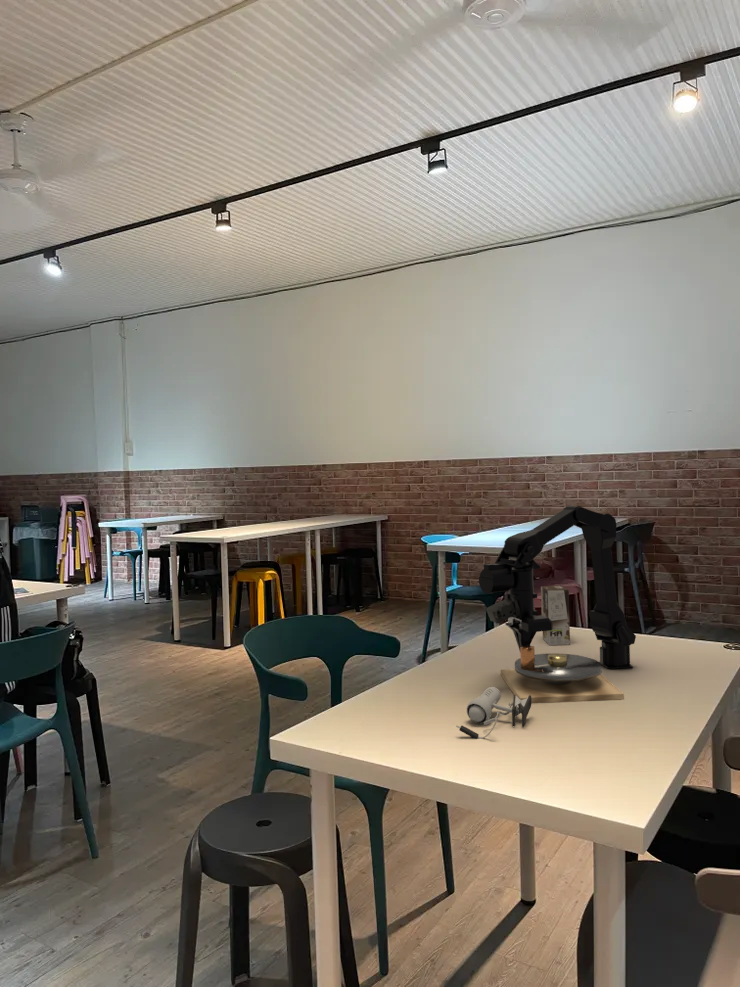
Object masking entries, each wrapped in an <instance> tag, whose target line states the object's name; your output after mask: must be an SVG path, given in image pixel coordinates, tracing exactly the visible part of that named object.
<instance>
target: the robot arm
mask: <svg viewBox="0 0 740 987" xmlns="http://www.w3.org/2000/svg"><path fill="white" fill-rule="evenodd" d="M574 526H575V527H576V528H578V529H579V528H580V529H581V532H582V536H583V539H584V540H585V542H586V544H587V546H589V548H590V554H591V562H592V563H591V564H592V572H593V582H594V592H595V599H596V602H595V603H596V604H595V606H594V608H593V610H589V612H588V615H589V627H591V629H592V632H594V635H595V638H596V640H597V641H600V642H601V646H600V647H599V662H600V663H601V665H602V667H604V668H606V669H607V670H614V669H617V670H618V669H633V667H634V666H633V665H632V664H631V649H630V648H631V647H630V646H631V645H635V642H636V638H637V635H636V634H635V633H634V632H633V631H632V630H631V628H630V627H629V626H628V625H627V621H626V617H625V613H624V611H623V610H622V608H621V607H620V605H619V603H618V601H617V599H618V598H617V593H616V592H617V591H616V582H615V581H616V580H615V572H614V571H615V570H614V562H613V561H614V560H613V554H612V553H613V552H612V546H613V544H614V542H615V540H616V538H617V520H616V518H615V517H614V516H613V515H612V514H609V513H601V512H597V511H594V510H589V509H587V508H585V507H583V506H581V505H568V506H566V507H563V509H562V510H560V511H559V512H557V513H555V514H554V515H553V516H551V517H549V518H548V519H546V520H545V521H543V522H541V523H540V524H539V525H537V526H536V527H534V528H532V529H529V530H526V531H523V532H519V533H516V534H514V535H511V536H508V537H507V538H506V539H505V540H504V545H503V547H502V549H501V551H500V553H499V555H498V557H497V558H496V560H495V561H494V563H484V564H483V569H482V570H481V571H480V573H479V577H478V583H479V584H478V585H479V587H480V589H481V591H482V592H483V593H485V594H486V595H487V594H494V593H501V592H505V595H504V600H500V601H498V602H496V603H494V604H492V605H490V606H488V607H486V609H485V610H486V612H487V615H488V617H489V620H490V622H494V623H495V624H496V625H498V624H501V623H503V622H505V621H507V622H505V623H504V624H505V626H506V627H508V628H509V629H510V630H511V631H512V633H513V634H514V638H515V641H516V644H517V648H518V649H519V651H520V647H521V646H525V645H529V646H531V643H532V641H533V640H534V638H535V636H536V634H537V633H539V632H543V631H549V630H553V623H552V621H551V620H550V619H549V618H547V617H545V616H542V614H540V615H539V611H538V610H535V599H538V593H536V592H535V591H534V590H535V589H534V570H540V569H541V566H540V564H538V563H537V562H536V561H535V558H536V557H537V556H539V555H540V554H541V552H542V551H543V548H544V546H545V545H546V544H548V543H549V542H550V541H553V540H554V539H555V538H557V537H559V536H560V535H562V534H563V533H565V532H566V531H567V530H570V528H573V527H574Z"/></svg>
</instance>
